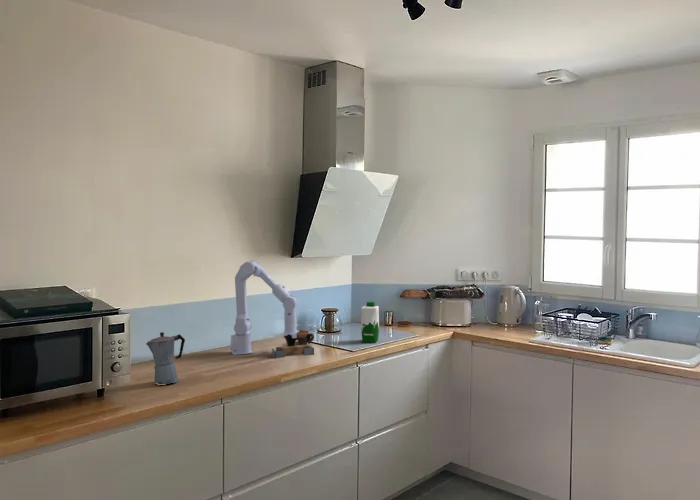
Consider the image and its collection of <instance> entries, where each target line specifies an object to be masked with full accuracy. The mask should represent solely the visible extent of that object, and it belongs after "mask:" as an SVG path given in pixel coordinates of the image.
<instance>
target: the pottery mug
mask: <svg viewBox="0 0 700 500" xmlns="http://www.w3.org/2000/svg"><path fill="white" fill-rule="evenodd" d="M296 335H297V339H296V342H295V346H296V345H310V344H311V343H312V342H313V341H314V339H315V335H314V334H313V333H309V331H307V330H299V332H298V333H297V334H296Z"/></svg>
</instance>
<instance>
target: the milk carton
mask: <svg viewBox="0 0 700 500" xmlns="http://www.w3.org/2000/svg"><path fill="white" fill-rule="evenodd" d="M375 303H376V302H374V301H367V302H366V305H363V306H362V307H360V308H361V309H360V310H361V313H360V314H361V315H360V317H361V319H360V320H361V321H360V324H361V325H360V327H361V328H360V329H361V342H362V344H363V343H364V344H366V343H367V344H368V343H369V344H376V343H377V342H378V341H379V335H380V314H379V313H380V311H379V308H380V307H379V305H376V304H375Z"/></svg>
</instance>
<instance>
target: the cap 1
mask: <svg viewBox="0 0 700 500" xmlns="http://www.w3.org/2000/svg"><path fill="white" fill-rule="evenodd" d="M271 356H272V357H273V358H274V359H280V358H285V357H286V356H285V351H284V350H283V351H276V349H274V348H271Z"/></svg>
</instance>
